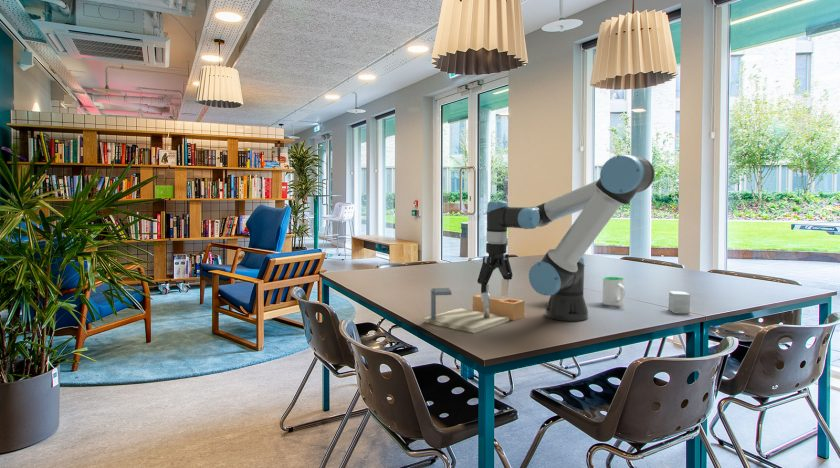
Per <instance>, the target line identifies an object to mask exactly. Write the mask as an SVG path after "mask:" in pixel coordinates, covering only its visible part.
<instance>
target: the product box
mask: <svg viewBox="0 0 840 468" xmlns="http://www.w3.org/2000/svg"><path fill="white" fill-rule="evenodd" d="M690 303H691V294H690V293H688V292H686V291H680V290H679V291H677V290H676V291H675V290H673V291H671V290H669V291H668V307H667V308H668V311H669V312H671V311H672V312H678V313H677V314H687V313H689V314H690ZM672 312H671V313H672Z"/></svg>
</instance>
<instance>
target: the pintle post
mask: <svg viewBox="0 0 840 468" xmlns="http://www.w3.org/2000/svg"><path fill="white" fill-rule="evenodd" d="M490 297H491V292H490V291H489V292H484V318H490Z"/></svg>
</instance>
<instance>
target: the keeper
mask: <svg viewBox="0 0 840 468" xmlns="http://www.w3.org/2000/svg"><path fill="white" fill-rule="evenodd" d="M437 296H452V290H451V288H450V287H433V288H430V316H431V320H436V315H437V311H436V309H437V308H436V307H437V306H436V305H437V301H436V299H437Z"/></svg>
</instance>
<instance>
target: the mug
mask: <svg viewBox="0 0 840 468" xmlns="http://www.w3.org/2000/svg"><path fill="white" fill-rule="evenodd" d="M625 297H626V290H625V278H623V277H617V276H604V277H602V304H604V305H606V306H617V307H618V306H623V305H624V301H625Z"/></svg>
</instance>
